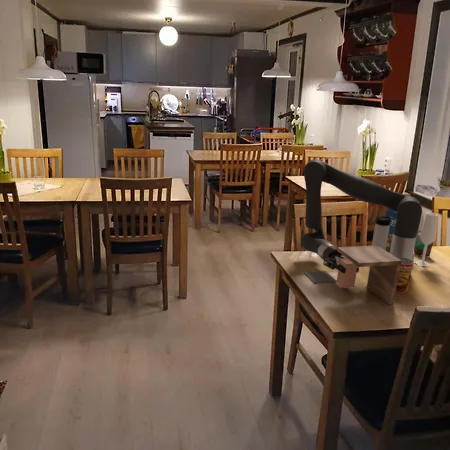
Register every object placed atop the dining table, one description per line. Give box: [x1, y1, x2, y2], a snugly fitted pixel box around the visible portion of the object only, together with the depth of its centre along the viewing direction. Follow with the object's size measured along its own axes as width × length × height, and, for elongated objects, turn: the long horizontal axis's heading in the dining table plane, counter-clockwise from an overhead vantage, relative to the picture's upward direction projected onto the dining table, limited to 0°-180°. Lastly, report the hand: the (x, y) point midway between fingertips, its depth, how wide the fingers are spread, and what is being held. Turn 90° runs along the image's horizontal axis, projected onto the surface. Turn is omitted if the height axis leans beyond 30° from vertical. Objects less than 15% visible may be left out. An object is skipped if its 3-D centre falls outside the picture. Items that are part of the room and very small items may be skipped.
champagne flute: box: [414, 212, 439, 267], centre depth 204 cm, size 7×7×24 cm
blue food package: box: [384, 207, 397, 253], centre depth 218 cm, size 6×12×25 cm, turn 48°
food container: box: [413, 229, 434, 257], centre depth 220 cm, size 12×6×10 cm, turn 5°
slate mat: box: [303, 270, 337, 284], centre depth 187 cm, size 10×10×1 cm
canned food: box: [396, 257, 414, 293], centre depth 179 cm, size 8×8×12 cm
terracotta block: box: [336, 258, 358, 289], centre depth 176 cm, size 5×5×10 cm
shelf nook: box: [336, 245, 401, 306], centre depth 169 cm, size 17×16×18 cm
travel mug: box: [371, 215, 392, 250], centre depth 209 cm, size 6×7×20 cm
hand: (351, 270), depth 173 cm, fingers closed on terracotta block, 5 cm apart
